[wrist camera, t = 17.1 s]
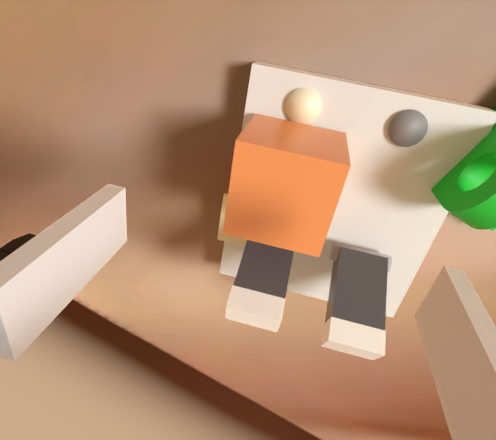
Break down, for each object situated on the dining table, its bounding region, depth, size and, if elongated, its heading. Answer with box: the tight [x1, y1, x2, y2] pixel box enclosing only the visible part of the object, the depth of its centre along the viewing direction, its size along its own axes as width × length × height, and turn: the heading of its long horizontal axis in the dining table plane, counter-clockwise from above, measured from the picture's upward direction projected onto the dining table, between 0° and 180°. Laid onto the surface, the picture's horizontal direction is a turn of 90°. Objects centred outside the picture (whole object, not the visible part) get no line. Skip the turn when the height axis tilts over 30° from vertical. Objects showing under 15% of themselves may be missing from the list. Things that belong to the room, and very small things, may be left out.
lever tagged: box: [225, 240, 294, 332], centre depth 25 cm, size 2×4×8 cm, turn 81°
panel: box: [217, 61, 496, 318], centre depth 27 cm, size 18×17×2 cm
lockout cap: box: [223, 113, 351, 257], centre depth 23 cm, size 6×6×6 cm
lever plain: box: [321, 242, 392, 360], centre depth 25 cm, size 2×4×8 cm, turn 81°
